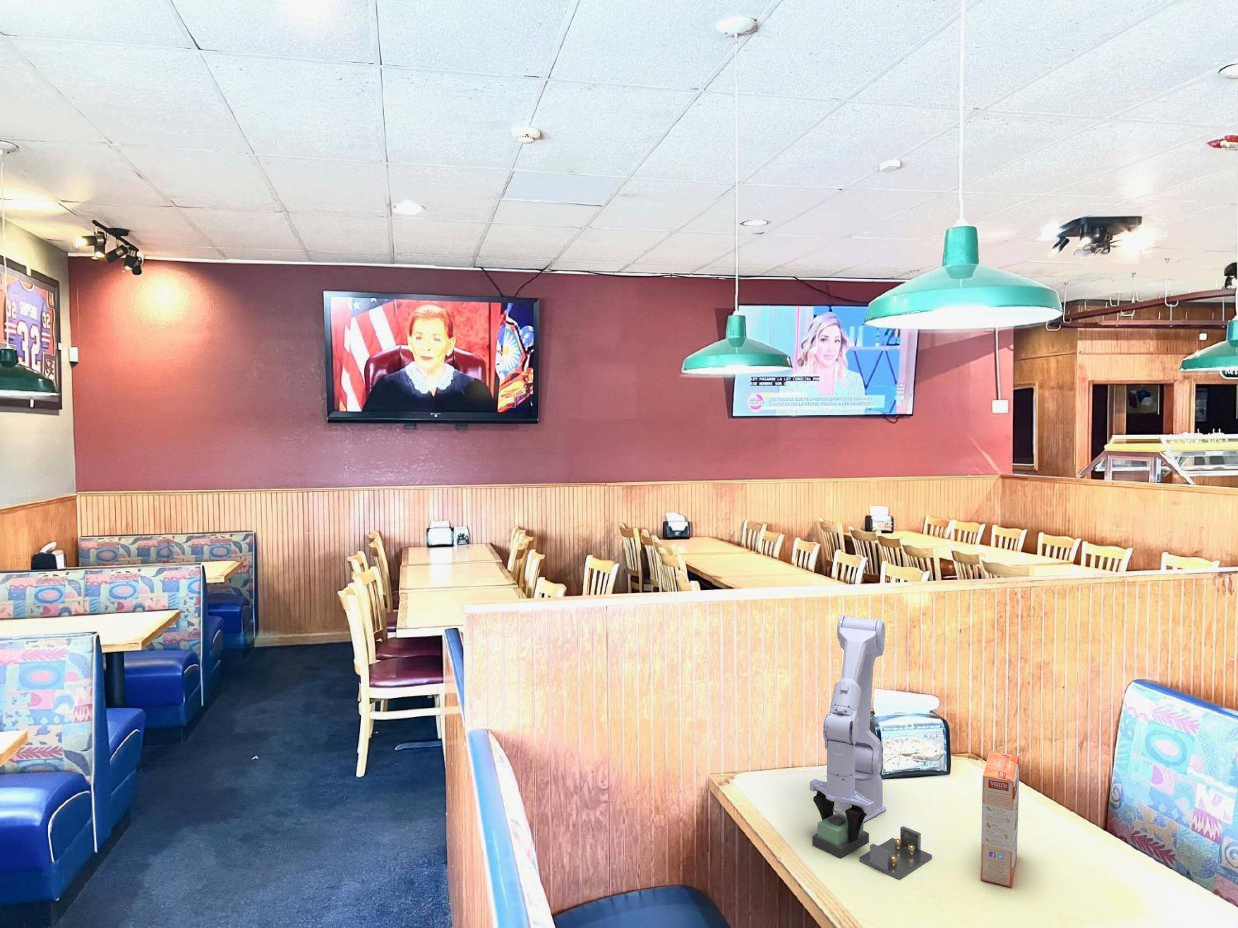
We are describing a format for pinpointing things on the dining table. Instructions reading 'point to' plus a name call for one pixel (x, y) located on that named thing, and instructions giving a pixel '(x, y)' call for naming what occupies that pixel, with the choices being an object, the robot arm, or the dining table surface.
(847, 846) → the pad
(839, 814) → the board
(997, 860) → the cracker box
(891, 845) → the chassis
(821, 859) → the dining table surface
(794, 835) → the dining table surface
